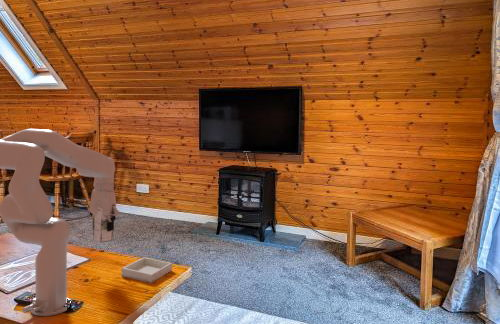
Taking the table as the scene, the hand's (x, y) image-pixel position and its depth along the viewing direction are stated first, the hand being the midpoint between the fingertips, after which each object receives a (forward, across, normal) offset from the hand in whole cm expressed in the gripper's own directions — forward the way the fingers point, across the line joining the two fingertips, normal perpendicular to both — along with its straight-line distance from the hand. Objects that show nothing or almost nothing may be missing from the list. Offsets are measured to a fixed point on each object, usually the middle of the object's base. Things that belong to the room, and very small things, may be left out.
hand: (103, 229), depth 161 cm
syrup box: (+5, 0, 0) cm, 5 cm away
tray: (+20, +15, +11) cm, 27 cm away
